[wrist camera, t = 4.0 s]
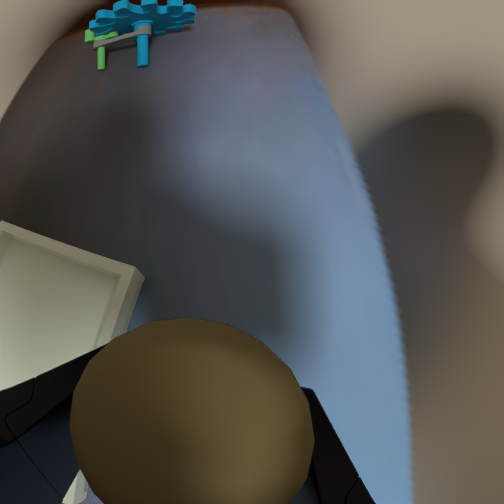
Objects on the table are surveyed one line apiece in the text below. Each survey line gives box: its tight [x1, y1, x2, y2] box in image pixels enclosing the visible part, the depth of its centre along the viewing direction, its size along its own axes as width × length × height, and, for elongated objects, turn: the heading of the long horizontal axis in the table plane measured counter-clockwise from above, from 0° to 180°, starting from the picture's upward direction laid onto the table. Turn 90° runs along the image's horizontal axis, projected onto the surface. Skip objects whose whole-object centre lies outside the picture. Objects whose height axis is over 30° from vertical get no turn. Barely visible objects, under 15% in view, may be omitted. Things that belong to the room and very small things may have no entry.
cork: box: [69, 317, 314, 504], centre depth 9 cm, size 6×6×11 cm
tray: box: [0, 220, 145, 504], centre depth 13 cm, size 14×11×2 cm
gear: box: [85, 0, 196, 70], centre depth 22 cm, size 11×6×10 cm
